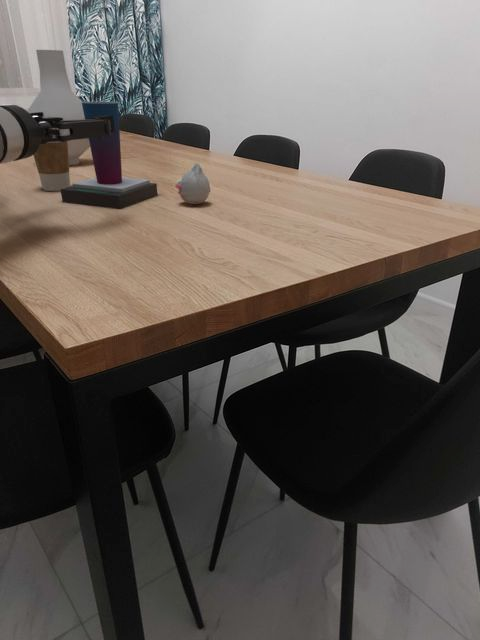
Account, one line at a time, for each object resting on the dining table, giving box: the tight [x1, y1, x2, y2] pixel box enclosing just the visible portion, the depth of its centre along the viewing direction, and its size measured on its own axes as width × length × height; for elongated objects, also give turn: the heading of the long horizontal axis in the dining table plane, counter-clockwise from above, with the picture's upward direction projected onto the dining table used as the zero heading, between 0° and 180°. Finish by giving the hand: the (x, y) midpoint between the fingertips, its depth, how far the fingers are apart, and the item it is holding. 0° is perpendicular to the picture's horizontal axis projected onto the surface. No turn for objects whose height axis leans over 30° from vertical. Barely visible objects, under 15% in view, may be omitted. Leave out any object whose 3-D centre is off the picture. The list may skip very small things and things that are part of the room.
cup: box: [82, 100, 123, 185], centre depth 101 cm, size 7×7×15 cm
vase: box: [27, 49, 90, 166], centre depth 137 cm, size 17×16×28 cm
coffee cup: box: [33, 117, 71, 192], centre depth 110 cm, size 8×8×15 cm
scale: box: [60, 176, 158, 210], centre depth 106 cm, size 14×14×3 cm
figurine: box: [174, 162, 211, 205], centre depth 101 cm, size 6×7×8 cm
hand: (77, 121), depth 91 cm, fingers open, 13 cm apart
